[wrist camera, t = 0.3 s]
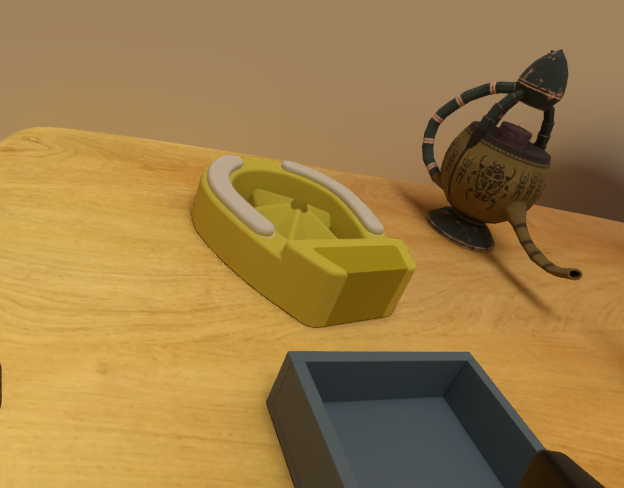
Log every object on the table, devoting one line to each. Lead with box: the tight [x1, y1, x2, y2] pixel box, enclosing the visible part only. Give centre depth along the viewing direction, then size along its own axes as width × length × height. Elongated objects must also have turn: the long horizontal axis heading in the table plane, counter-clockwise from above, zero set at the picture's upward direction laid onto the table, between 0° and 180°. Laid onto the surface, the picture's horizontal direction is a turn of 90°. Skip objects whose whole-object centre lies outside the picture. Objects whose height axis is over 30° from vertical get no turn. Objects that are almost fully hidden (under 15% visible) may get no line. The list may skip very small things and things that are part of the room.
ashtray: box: [192, 155, 416, 327], centre depth 46 cm, size 16×21×5 cm
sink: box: [266, 351, 546, 488], centre depth 27 cm, size 15×14×4 cm
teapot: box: [422, 50, 582, 280], centre depth 57 cm, size 12×25×23 cm, turn 23°
